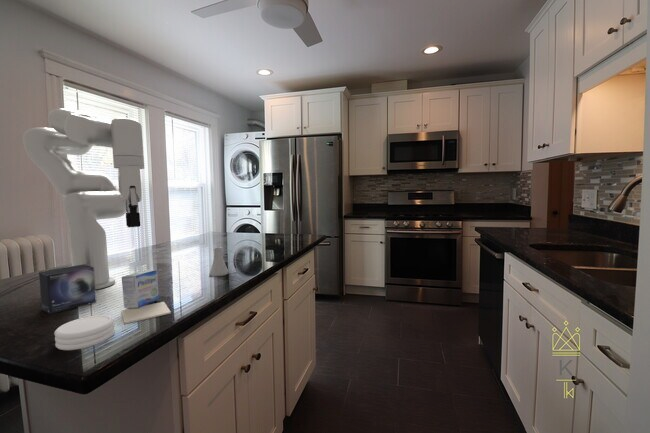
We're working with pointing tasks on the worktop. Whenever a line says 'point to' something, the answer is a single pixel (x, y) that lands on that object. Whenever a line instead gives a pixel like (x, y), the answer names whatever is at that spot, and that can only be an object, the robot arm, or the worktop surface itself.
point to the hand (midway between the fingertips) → (133, 226)
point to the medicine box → (140, 288)
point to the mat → (145, 312)
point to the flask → (218, 264)
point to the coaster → (84, 332)
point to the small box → (67, 288)
